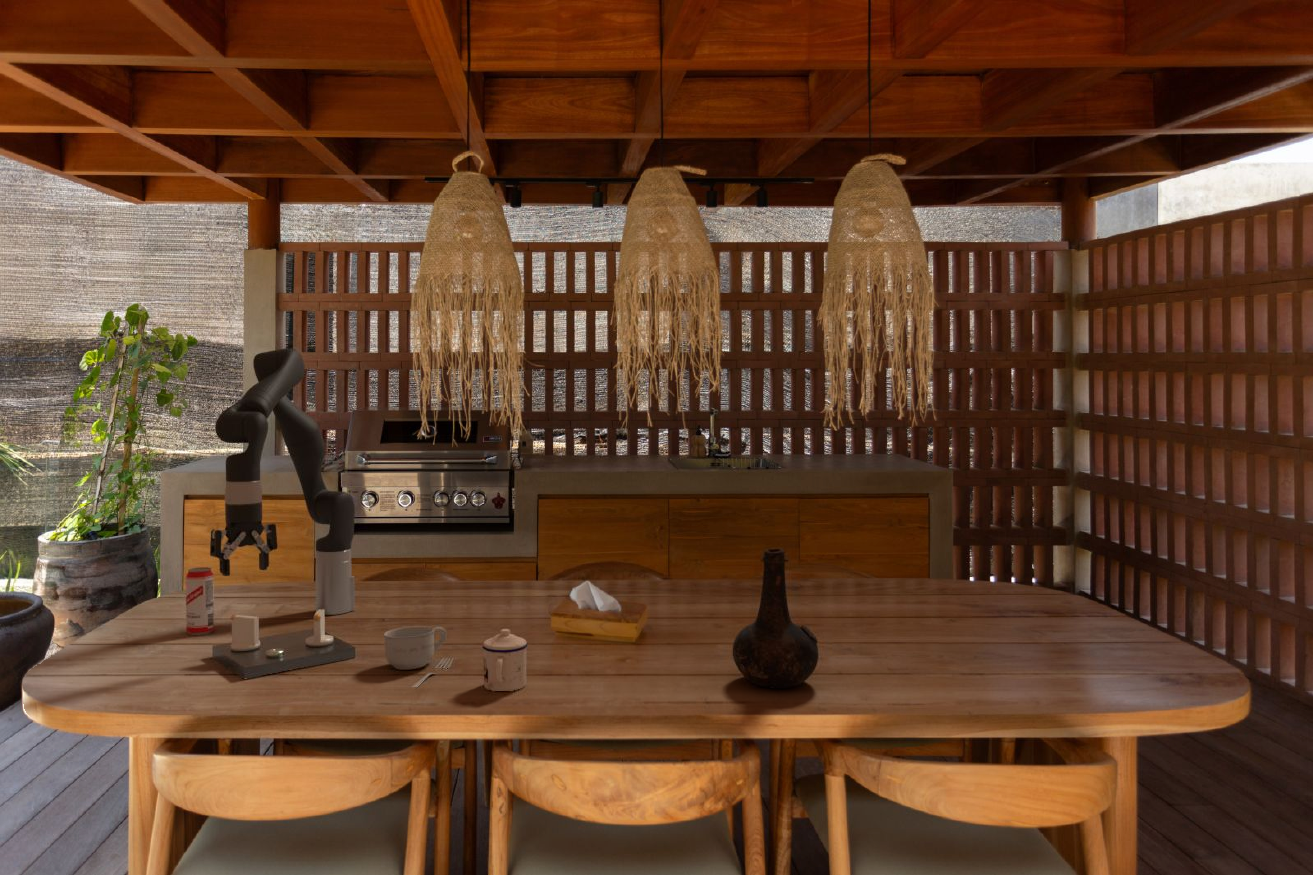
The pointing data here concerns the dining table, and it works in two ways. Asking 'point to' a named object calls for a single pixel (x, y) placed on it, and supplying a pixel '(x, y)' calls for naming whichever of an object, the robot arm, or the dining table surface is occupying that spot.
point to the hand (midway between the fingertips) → (244, 572)
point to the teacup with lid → (504, 662)
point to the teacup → (411, 646)
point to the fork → (433, 673)
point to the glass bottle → (775, 635)
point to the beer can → (200, 601)
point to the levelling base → (281, 654)
